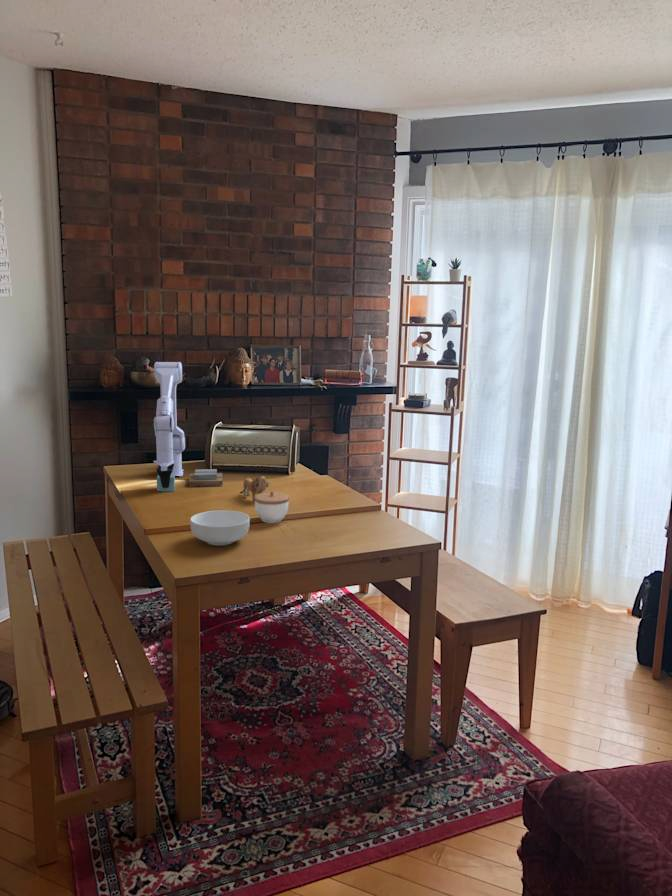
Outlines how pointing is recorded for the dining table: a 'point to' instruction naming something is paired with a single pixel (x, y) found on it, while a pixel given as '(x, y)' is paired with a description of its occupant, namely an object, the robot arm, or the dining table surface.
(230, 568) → the dining table surface
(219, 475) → the tower base
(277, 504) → the lidded jar
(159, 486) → the teal brick
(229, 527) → the cereal bowl
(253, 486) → the lion figurine
